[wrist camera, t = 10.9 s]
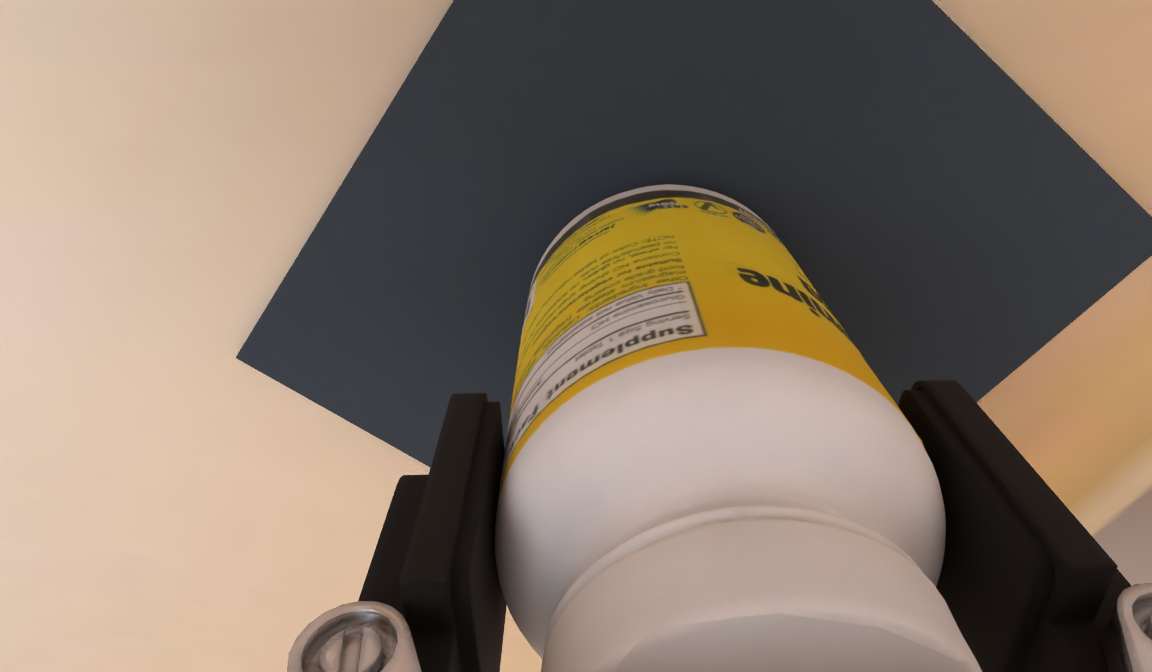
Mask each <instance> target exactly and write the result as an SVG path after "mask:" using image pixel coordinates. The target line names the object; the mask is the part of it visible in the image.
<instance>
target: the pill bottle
mask: <svg viewBox="0 0 1152 672" xmlns="http://www.w3.org/2000/svg"><path fill="white" fill-rule="evenodd" d="M945 538H946V515H945V508H944V502H943V497H942V493H941V488H940V484H939V480H938V478H937V475H936V472H935V469H934V467H933V464H932V462H931V460H930V458H929V456H928V454H927V452H926V451H925V448H924V445H923V443H922V440H921V439H920V438H919V436H918V435H917V434H916V432H915V431H914V429H913V427H912V426H911V424H910V423H909V421H908V420H907V419H906V417H905V416H904V414H903V413H902V411H901V410H900V409H899V407H898V406H897V404H896V403H895V402H894V400H893V399H892V397H891V396H890V395H889V393H888V392H887V391H886V389H885V388H884V387H883V385H882V384H881V382H880V381H879V380H878V378H877V377H876V375H875V374H874V373H873V371H872V370H871V368H870V367H869V366H868V364H867V363H866V361H865V360H864V358H863V356H862V355H861V353H860V352H859V350H858V349H857V348H856V346H855V345H854V344H853V343H852V341H851V340H850V338H849V337H848V335H847V333H846V332H845V330H844V329H843V328H842V326H841V325H840V323H839V322H838V321H837V320H836V319H835V317H834V316H833V314H832V313H831V311H830V310H829V308H828V307H827V305H826V304H825V303H824V301H823V300H822V298H821V297H820V296H819V294H818V293H817V291H816V290H815V288H814V287H813V285H812V284H811V283H810V281H809V280H808V278H807V277H806V276H805V274H804V273H803V271H802V270H801V268H800V267H799V266H798V264H797V263H796V261H795V260H794V258H793V257H792V256H791V254H790V253H789V251H788V250H787V248H786V247H785V246H784V244H783V243H782V241H781V240H780V239H779V238H778V237H777V236H776V234H775V233H774V232H773V231H772V229H771V228H770V227H769V226H768V225H767V224H766V223H765V222H764V221H763V220H762V219H761V218H760V217H758V216H757V215H756V214H755V213H754V212H752V211H751V210H750V209H748V208H747V207H745V206H744V205H742V204H740V203H738V202H737V201H735V200H733V199H731V198H729V197H727V196H724V195H722V194H719V193H717V192H713V191H710V190H706V189H703V188H697V187H692V186H686V185H672V184H666V185H654V186H647V187H641V188H637V189H633V190H630V191H626V192H623V193H619V194H617V195H614V196H612V197H609V198H607V199H605V200H603V201H601V202H599V203H597V204H595V205H593V206H591V207H590V208H588V209H586V210H585V211H584V212H582V213H581V214H579V215H578V216H577V217H576V218H574V219H573V220H572V221H571V222H570V223H569V224H568V225H567V226H565V227H564V228H563V229H562V230H561V232H560V233H559V234H558V235H557V236H556V237H555V239H554V240H553V241H552V243H551V244H550V245H549V247H548V248H547V250H546V251H545V253H544V255H543V256H542V258H541V260H540V262H539V264H538V266H537V269H536V271H535V274H534V277H533V280H532V283H531V286H530V290H529V295H528V299H527V305H526V311H525V317H524V324H523V328H522V335H521V343H520V348H519V355H518V363H517V369H516V376H515V383H514V388H513V397H512V404H511V411H510V419H509V426H508V433H507V441H506V447H505V454H504V461H503V468H502V475H501V482H500V489H499V495H498V503H497V512H496V523H495V559H496V566H497V572H498V577H499V583H500V586H501V589H502V592H503V595H504V598H505V601H506V603H507V606H508V608H509V611H510V613H511V615H512V617H513V619H514V621H515V623H516V624H517V626H518V628H519V629H520V631H521V632H522V634H523V635H524V637H525V638H526V639H527V641H528V642H529V644H530V645H531V647H532V648H533V649H534V650H535V651H536V652H537V654H538V655H539V656H540V657H541V658H542V659H543V660H542V669H541V672H982V670H981V668H980V666H979V664H978V662H977V660H976V658H975V657H974V655H973V653H972V651H971V650H970V648H969V646H968V645H967V643H966V641H965V639H964V638H963V636H962V634H961V632H960V630H959V628H958V626H957V624H956V622H955V620H954V618H953V616H952V614H951V612H950V610H949V608H948V606H947V604H946V602H945V600H944V598H943V597H942V596H941V594H940V593H939V591H938V590H937V588H936V586H937V583H938V580H939V576H940V573H941V569H942V565H943V559H944V552H945Z"/></svg>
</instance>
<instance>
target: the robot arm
mask: <svg viewBox="0 0 1152 672" xmlns="http://www.w3.org/2000/svg"><path fill="white" fill-rule="evenodd" d="M898 407H899V409H900V410H901V411H902V413H903V414H904V416H905V417H906V419H907V420H908V421H909V423H910V424H911V426H912V427H913V429H914V431H915V432H916V434H917V435H918V436H919V438H920V439H921V440H922V443H923V445H924V448H925V451H926V452H927V454H928V456H929V458H930V460H931V462H932V464H933V467H934V469H935V472H936V475H937V478H938V480H939V484H940V488H941V493H942V497H943V502H944V508H945V515H946V538H945V552H944V559H943V565H942V569H941V573H940V576H939V580H938V583H937V586H936V588H937V590H938V591H939V593H940V594H941V596H942V597H943V598H944V600H945V602H946V604H947V606H948V608H949V610H950V612H951V614H952V616H953V618H954V620H955V622H956V624H957V626H958V628H959V630H960V632H961V634H962V636H963V638H964V639H965V641H966V643H967V645H968V646H969V648H970V650H971V651H972V653H973V655H974V657H975V658H976V660H977V662H978V664H979V666H980V668H981V670H982V672H1152V583H1144V584H1135V585H1133V586H1131V585H1130V583H1129V582H1128V581H1127V580H1126V579H1125V578H1124V577H1123V575H1122V574H1121V573H1120V572H1119V571H1118V569H1117V565H1116V564H1115V563H1114V561H1113V560H1112V559H1111V558H1110V557H1109V556H1108V554H1107V553H1106V552H1105V551H1104V550H1103V549H1102V548H1101V546H1100V545H1099V544H1098V543H1097V542H1096V541H1095V539H1094V538H1093V537H1092V536H1091V535H1090V534H1089V532H1088V531H1087V530H1086V529H1085V528H1084V527H1083V526H1082V524H1081V523H1080V522H1079V521H1078V520H1077V519H1076V517H1075V516H1074V515H1073V514H1072V513H1071V512H1070V511H1069V509H1068V508H1067V507H1066V506H1065V505H1064V504H1063V502H1062V501H1061V500H1060V499H1059V498H1058V497H1057V496H1056V494H1055V493H1054V492H1053V491H1052V490H1051V489H1050V487H1049V486H1048V485H1047V484H1046V483H1045V482H1044V480H1043V479H1042V478H1041V477H1040V476H1039V475H1038V474H1037V472H1036V471H1035V470H1034V469H1033V468H1032V467H1031V465H1030V464H1029V463H1028V462H1027V461H1026V460H1025V459H1024V457H1023V456H1022V455H1021V454H1020V453H1019V452H1018V450H1017V449H1016V448H1015V447H1014V446H1013V445H1012V444H1011V442H1010V441H1009V440H1008V439H1007V438H1006V437H1005V435H1004V434H1003V433H1002V432H1001V431H1000V430H999V428H998V427H997V426H996V425H995V424H994V423H993V422H992V420H991V419H990V418H989V417H988V416H987V415H986V413H985V412H984V411H983V410H982V409H981V408H980V407H979V405H978V404H977V403H976V402H975V401H974V400H973V398H972V397H971V396H970V395H969V394H968V393H967V391H966V390H965V389H964V388H963V387H962V386H961V385H960V384H959V383H958V382H957V381H956V380H926V381H917V382H915V383H914V384H913V386H912V388H911V390H905V391H903V392H902V394H901V397H900V400H899V405H898ZM504 454H505V446H504V436H503V426H502V416H501V407H500V402H499V401H491V402H488V397H487V394H486V393H461V394H452V395H451V397H450V400H449V404H448V407H447V411H446V415H445V418H444V422H443V425H442V429H441V432H440V436H439V440H438V443H437V447H436V450H435V454H434V458H433V461H432V465H431V468H430V472H429V475H403V476H402V477H401V478H400V479H399V481H398V484H397V486H396V489H395V492H394V495H393V498H392V501H391V504H390V507H389V510H388V513H387V516H386V519H385V522H384V525H383V528H382V531H381V534H380V537H379V540H378V543H377V546H376V549H375V552H374V555H373V558H372V561H371V564H370V567H369V570H368V573H367V576H366V579H365V582H364V585H363V588H362V591H361V595H360V598H359V601H358V602H353V603H348V604H343V605H340V606H338V607H336V608H334V609H331V610H329V611H327V612H325V613H323V614H322V615H320V616H319V617H318V618H316V619H315V620H314V621H312V622H311V623H309V624H308V625H307V627H306V628H305V629H304V630H303V631H302V632H301V634H300V635H299V636H298V637H297V638H296V640H295V642H294V644H293V646H292V649H291V651H290V653H289V658H288V667H287V672H499V671H500V662H501V652H502V643H503V633H504V624H505V615H506V605H507V603H506V601H505V598H504V595H503V592H502V589H501V586H500V583H499V577H498V572H497V566H496V559H495V523H496V512H497V503H498V495H499V489H500V482H501V475H502V468H503V461H504Z"/></svg>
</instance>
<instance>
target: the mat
mask: <svg viewBox="0 0 1152 672" xmlns="http://www.w3.org/2000/svg"><path fill="white" fill-rule="evenodd" d="M666 184H672V185H686V186H692V187H697V188H703V189H706V190H710V191H713V192H717V193H719V194H722V195H724V196H727V197H729V198H731V199H733V200H735V201H737V202H738V203H740V204H742V205H744V206H745V207H747V208H748V209H750V210H751V211H752V212H754V213H755V214H756V215H757V216H758V217H760V218H761V219H762V220H763V221H764V222H765V223H766V224H767V225H768V226H769V227H770V228H771V229H772V231H773V232H774V233H775V234H776V236H777V237H778V238H779V239H780V240H781V241H782V243H783V244H784V246H785V247H786V248H787V250H788V251H789V253H790V254H791V256H792V257H793V258H794V260H795V261H796V263H797V264H798V266H799V267H800V268H801V270H802V271H803V273H804V274H805V276H806V277H807V278H808V280H809V281H810V283H811V284H812V285H813V287H814V288H815V290H816V291H817V293H818V294H819V296H820V297H821V298H822V300H823V301H824V303H825V304H826V305H827V307H828V308H829V310H830V311H831V313H832V314H833V316H834V317H835V319H836V320H837V321H838V322H839V323H840V325H841V326H842V328H843V329H844V330H845V332H846V333H847V335H848V337H849V338H850V340H851V341H852V343H853V344H854V345H855V346H856V348H857V349H858V350H859V352H860V353H861V355H862V356H863V358H864V360H865V361H866V363H867V364H868V366H869V367H870V368H871V370H872V371H873V373H874V374H875V375H876V377H877V378H878V380H879V381H880V382H881V384H882V385H883V387H884V388H885V389H886V391H887V392H888V393H889V395H890V396H891V397H892V399H893V400H894V402H895V403H896V404H897V406H898V405H899V400H900V397H901V394H902V392H903V391H905V390H911V388H912V386H913V384H914V383H915V382H917V381H926V380H956V381H957V382H958V383H959V384H960V385H961V386H962V387H963V388H964V389H965V390H966V391H967V393H968V394H969V395H970V396H971V397H972V398H973V400H974V401H975V402H977V401H978V400H980V399H981V398H982V397H983V396H984V395H986V394H987V393H988V392H989V391H990V390H992V389H993V388H994V387H995V386H996V385H998V384H999V383H1000V382H1001V381H1002V380H1004V379H1005V378H1006V377H1007V376H1008V375H1009V374H1011V373H1012V372H1013V371H1014V370H1015V369H1017V368H1018V367H1019V366H1020V365H1021V364H1023V363H1024V362H1025V361H1026V360H1027V359H1029V358H1030V357H1031V356H1032V355H1033V354H1035V353H1036V352H1037V351H1038V350H1039V349H1040V348H1042V347H1043V346H1044V345H1045V344H1046V343H1048V342H1049V341H1050V340H1051V339H1052V338H1054V337H1055V336H1056V335H1057V334H1058V333H1060V332H1061V331H1062V330H1063V329H1064V328H1065V327H1067V326H1068V325H1069V324H1070V323H1071V322H1073V321H1074V320H1075V319H1076V318H1077V317H1079V316H1080V315H1081V314H1082V313H1083V312H1085V311H1086V310H1087V309H1088V308H1089V307H1091V306H1092V305H1093V304H1094V303H1095V302H1096V301H1098V300H1099V299H1100V298H1101V297H1102V296H1104V295H1105V294H1106V293H1107V292H1108V291H1110V290H1111V289H1112V288H1113V287H1114V286H1116V285H1117V284H1118V283H1119V282H1120V281H1122V280H1123V279H1124V278H1125V277H1126V276H1127V275H1129V274H1130V273H1131V272H1132V271H1133V270H1135V269H1136V268H1137V267H1138V266H1139V265H1141V264H1142V263H1143V262H1144V261H1145V260H1147V259H1148V258H1149V257H1150V256H1151V255H1152V217H1151V216H1150V215H1149V214H1148V213H1147V212H1146V211H1145V210H1144V209H1143V208H1142V207H1141V206H1140V205H1139V204H1138V203H1137V202H1136V201H1135V200H1134V199H1133V198H1132V197H1131V196H1130V195H1129V194H1128V193H1127V192H1126V191H1125V190H1124V189H1123V188H1122V187H1120V186H1119V185H1118V184H1117V183H1116V182H1115V181H1114V180H1113V179H1112V178H1111V177H1110V176H1109V175H1108V174H1107V173H1106V172H1105V171H1104V170H1103V169H1102V168H1101V167H1100V166H1099V165H1098V164H1097V163H1096V162H1095V161H1094V160H1093V159H1092V158H1091V157H1090V156H1089V155H1088V154H1087V153H1086V152H1085V151H1084V150H1083V149H1082V148H1081V147H1080V146H1079V145H1078V144H1077V143H1076V142H1075V141H1074V140H1073V139H1072V138H1071V137H1070V136H1069V135H1068V134H1067V133H1066V132H1065V131H1064V130H1063V129H1062V128H1061V127H1060V126H1059V125H1058V124H1057V123H1055V122H1054V121H1053V120H1052V119H1051V118H1050V117H1049V116H1048V115H1047V114H1046V113H1045V112H1044V111H1043V110H1042V109H1041V108H1040V107H1039V106H1038V105H1037V104H1036V103H1035V102H1034V101H1033V100H1032V99H1031V98H1030V97H1029V96H1028V95H1027V94H1026V93H1025V92H1024V91H1023V90H1022V89H1021V88H1020V87H1019V86H1018V85H1017V84H1016V83H1015V82H1014V81H1013V80H1012V79H1011V78H1010V77H1009V76H1008V75H1007V74H1006V73H1005V72H1004V71H1003V70H1002V69H1001V68H1000V67H999V66H998V65H997V64H996V63H995V62H994V61H993V60H992V59H991V58H989V57H988V56H987V55H986V54H985V53H984V52H983V51H982V50H981V49H980V48H979V47H978V46H977V45H976V44H975V43H974V42H973V41H972V40H971V39H970V38H969V37H968V36H967V35H966V34H965V33H964V32H963V31H962V30H961V29H960V28H959V27H958V26H957V25H956V24H955V23H954V22H953V21H952V20H951V19H950V18H949V17H948V16H947V15H946V14H945V13H944V12H943V11H942V10H941V9H940V8H939V7H938V6H937V5H936V4H935V3H934V2H933V1H932V0H454V1H453V3H452V4H451V6H450V8H449V9H448V11H447V13H446V14H445V16H444V17H443V19H442V21H441V22H440V24H439V26H438V27H437V29H436V31H435V32H434V34H433V36H432V37H431V39H430V40H429V42H428V44H427V45H426V47H425V49H424V50H423V52H422V54H421V55H420V57H419V58H418V60H417V62H416V63H415V65H414V67H413V68H412V70H411V72H410V73H409V75H408V76H407V78H406V80H405V81H404V83H403V85H402V86H401V88H400V90H399V91H398V93H397V94H396V96H395V98H394V99H393V101H392V103H391V104H390V106H389V108H388V109H387V111H386V113H385V114H384V116H383V117H382V119H381V121H380V122H379V124H378V126H377V127H376V129H375V131H374V132H373V134H372V135H371V137H370V139H369V140H368V142H367V144H366V145H365V147H364V149H363V150H362V152H361V153H360V155H359V157H358V158H357V160H356V162H355V163H354V165H353V167H352V168H351V170H350V171H349V173H348V175H347V176H346V178H345V180H344V181H343V183H342V185H341V186H340V188H339V190H338V191H337V193H336V194H335V196H334V198H333V199H332V201H331V203H330V204H329V206H328V208H327V209H326V211H325V212H324V214H323V216H322V217H321V219H320V221H319V222H318V224H317V226H316V227H315V229H314V230H313V232H312V234H311V235H310V237H309V239H308V240H307V242H306V244H305V245H304V247H303V248H302V250H301V252H300V253H299V255H298V257H297V258H296V260H295V262H294V263H293V265H292V266H291V268H290V270H289V271H288V273H287V275H286V276H285V278H284V280H283V281H282V283H281V285H280V286H279V288H278V289H277V291H276V293H275V294H274V296H273V298H272V299H271V301H270V303H269V304H268V306H267V307H266V309H265V311H264V312H263V314H262V316H261V317H260V319H259V321H258V322H257V324H256V325H255V327H254V329H253V330H252V332H251V334H250V335H249V337H248V339H247V340H246V342H245V343H244V345H243V347H242V348H241V350H240V352H239V353H238V355H237V357H236V358H237V359H239V360H241V361H242V362H244V363H246V364H248V365H250V366H251V367H253V368H255V369H257V370H258V371H260V372H262V373H264V374H266V375H267V376H269V377H271V378H273V379H274V380H276V381H278V382H280V383H282V384H283V385H285V386H287V387H289V388H290V389H292V390H294V391H296V392H297V393H299V394H301V395H303V396H305V397H306V398H308V399H310V400H312V401H313V402H315V403H317V404H319V405H321V406H322V407H324V408H326V409H328V410H329V411H331V412H333V413H335V414H337V415H338V416H340V417H342V418H344V419H345V420H347V421H349V422H351V423H353V424H354V425H356V426H358V427H360V428H361V429H363V430H365V431H367V432H369V433H370V434H372V435H374V436H376V437H377V438H379V439H381V440H383V441H385V442H386V443H388V444H390V445H392V446H393V447H395V448H397V449H399V450H401V451H402V452H404V453H406V454H408V455H409V456H411V457H413V458H415V459H417V460H418V461H420V462H422V463H424V464H425V465H427V466H429V467H431V465H432V461H433V458H434V454H435V450H436V447H437V443H438V440H439V436H440V432H441V429H442V425H443V422H444V418H445V415H446V411H447V407H448V404H449V400H450V397H451V395H452V394H461V393H486V394H487V397H488V402H491V401H499V402H500V407H501V416H502V426H503V436H504V446H505V447H506V441H507V433H508V426H509V419H510V411H511V404H512V397H513V388H514V383H515V376H516V369H517V363H518V355H519V348H520V343H521V335H522V328H523V324H524V317H525V311H526V305H527V299H528V295H529V290H530V286H531V283H532V280H533V277H534V274H535V271H536V269H537V266H538V264H539V262H540V260H541V258H542V256H543V255H544V253H545V251H546V250H547V248H548V247H549V245H550V244H551V243H552V241H553V240H554V239H555V237H556V236H557V235H558V234H559V233H560V232H561V230H562V229H563V228H564V227H565V226H567V225H568V224H569V223H570V222H571V221H572V220H573V219H574V218H576V217H577V216H578V215H579V214H581V213H582V212H584V211H585V210H586V209H588V208H590V207H591V206H593V205H595V204H597V203H599V202H601V201H603V200H605V199H607V198H609V197H612V196H614V195H617V194H619V193H623V192H626V191H630V190H633V189H637V188H641V187H647V186H654V185H666Z"/></svg>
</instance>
